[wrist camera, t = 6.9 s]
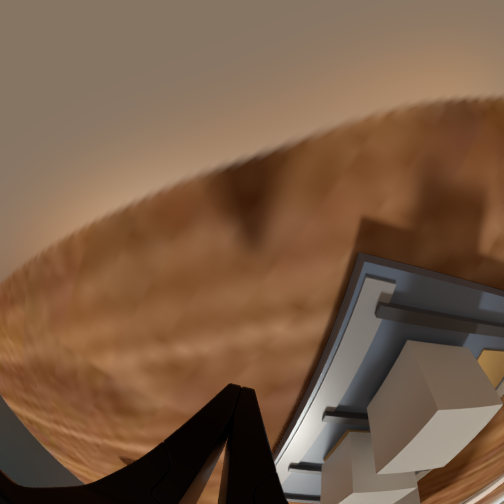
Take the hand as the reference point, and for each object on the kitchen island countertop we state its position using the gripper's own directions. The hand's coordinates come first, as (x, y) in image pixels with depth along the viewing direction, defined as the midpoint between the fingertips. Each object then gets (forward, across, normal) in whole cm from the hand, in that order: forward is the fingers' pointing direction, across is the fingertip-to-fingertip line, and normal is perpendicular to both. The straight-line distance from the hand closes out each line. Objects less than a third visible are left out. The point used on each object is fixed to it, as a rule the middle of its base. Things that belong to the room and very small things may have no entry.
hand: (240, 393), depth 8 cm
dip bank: (+3, -10, +6) cm, 12 cm away
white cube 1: (+2, -7, 0) cm, 8 cm away
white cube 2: (+2, -8, +6) cm, 10 cm away
